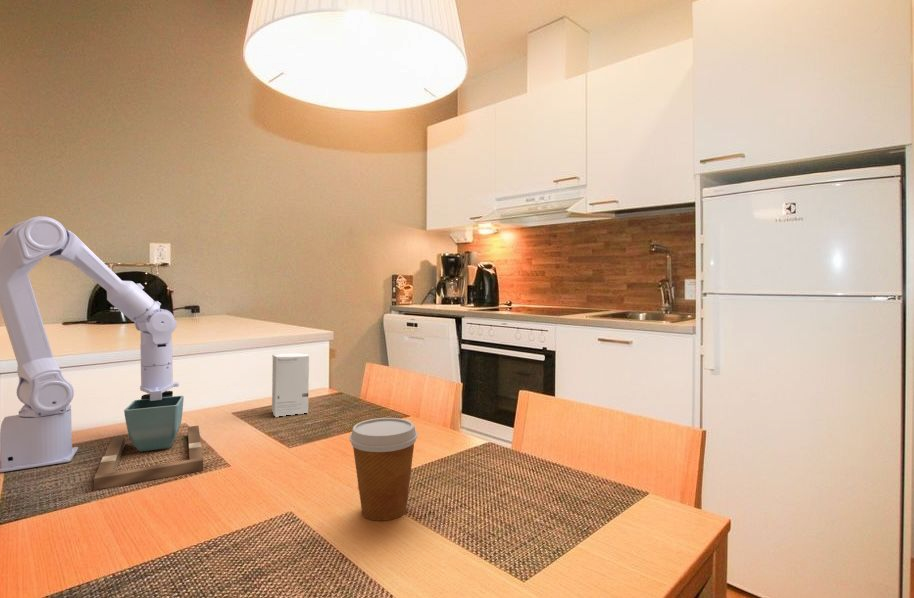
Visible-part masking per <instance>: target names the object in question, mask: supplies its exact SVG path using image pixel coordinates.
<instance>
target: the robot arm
mask: <svg viewBox="0 0 914 598" xmlns="http://www.w3.org/2000/svg"><path fill="white" fill-rule="evenodd" d="M47 256H48V257H49V258H51V259H56V260H59V261H60V260H61V261H64V262H69V263H71V264H73V266H75V267H76V268H78V269H79V270H80V271H81V272H83V273H84V274H85V275H86V276H87V277H89V278H90V279H91V280H92V281H94V282H95V283H96V284H98V285H99V286H100V287H101V288H103V289H104V290H105V291H106V300H107V301H108V302H109V303H110V304H111V305H112V306H113V307H115V308H116V309H117V310H118V311H119V312H121V313H122V314H123V315H124V316H126V317H127V319H129V320H130V321H131V322H134V328H135V329H136V330H137V331H140V344H139V345H140V386H139V390H140V391H141V392H143V393H146V394H142V395H141V398H140V399H150V401H155V400H162V397H172V396H174V395H173V394H174V393H173V391H172V389H173V388H178V387H180V382H179V381H175V382H174V380H173V378H174V377H173V335H172V334H173V332H174V331H175V330H176V328H177V326H178V321H177V320H176V319H175V315H174V314H173V313H172V312H171V311H170V310H168V309H163V308H161V305H162V303H161V302H159V300H154V299H153V298H152V297H151V296H150V295H149V294H148V293H147V292H145V290H143V289H145V286H143V285H142V284H141V283H135V282H134V281H132V280H122V279H121V277H119V276H118V275H117V274H116V273H115V272H114V271H113V270H112V269H111V268H110V267H109V266H108V265H107V264H106V263H104V262H103V260H101V258H99V257H98V256H97V255H96V254H95V253H94V252H93V251H92V250H91V249H90V248H89V247H88V246H87V245H86V244H85V243H84V242H83V241H82V240H81V239H80V238H79V237H78V236H77V235H76V234H75V233H74V232H72V231H70V230H69V229H66V228H65V226H64V225H63V224H62V223H61V222H60V221H58V220H56V219H54V218H52V217H49V216H39V215H38V216H34V217H31V218H29V219H27V220H23V221H20V222H18V223H16V224H14V225H13V226H12V227H10V228H9V229H8V230H6V231H5V232H4V233H2V235H1V238H0V313H1V316H2V319H3V322H4V325H5V328H6V332H7V335H8V338H9V341H10V345H11V347H12V350H13V354H14V358H15V360H16V362H17V370H16V371H17V372H16V373H17V377H18V383H17V384H18V385H17V388H16V397H17V399H18V400H19V401H20V402H21V403H22V404H23V405H22V407H21V408H20V409H19V410H18V414H15V415H9V416H5V417H4V418H3V420H2V421H1V424H0V473H3V472H4V473H5V472H11V471H17V470H24V469H31V468H36V467H37V468H38V467H45V466H50V465H56V464H63V463H69V462H71V461H72V460H73V458H74V457H75V454H76V453H77V452H78V451H79V447H78V446H74V447H73V436H72V435H73V434H72V433H73V432H72V405H71V402H72V401H73V399H74V395H75V391H74V387H73V386H72V384H71V382H69V381H68V380H66V379H65V378H64V375H63V374H62V371H61V369H60V366H59V364H58V363H57V361H56V360H55V358H54V355H53V352H52V349H51V345H50V342H49V339H48V335H47V333H46V332H47V331H46V328H45V326H44V322H43V319H42V315H41V311H40V309H39V306H38V302H37V299H36V295H35V292H34V289H33V286H32V283H31V279H30V276H29V273H30V271H32V270H33V268H35V266H37V264H39V263H40V261H41V260H42V259H44V258H45V257H47ZM170 389H171V390H170Z"/></svg>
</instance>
